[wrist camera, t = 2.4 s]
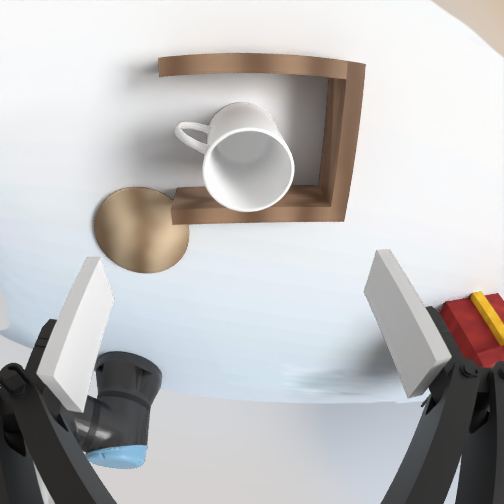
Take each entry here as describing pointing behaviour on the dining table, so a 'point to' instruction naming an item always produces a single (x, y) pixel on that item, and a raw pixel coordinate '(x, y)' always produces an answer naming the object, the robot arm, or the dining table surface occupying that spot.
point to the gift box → (477, 327)
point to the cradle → (334, 144)
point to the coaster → (140, 230)
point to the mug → (242, 157)
